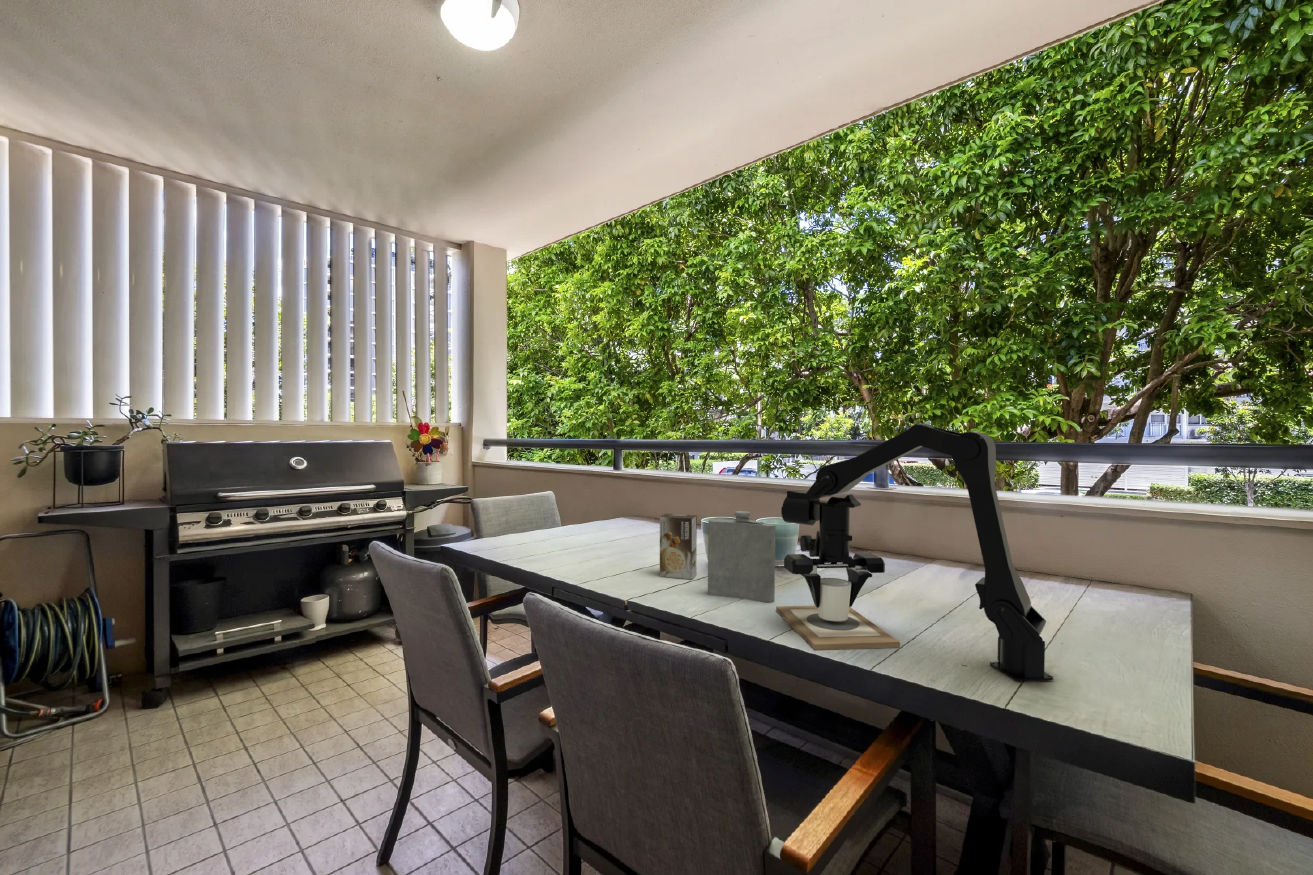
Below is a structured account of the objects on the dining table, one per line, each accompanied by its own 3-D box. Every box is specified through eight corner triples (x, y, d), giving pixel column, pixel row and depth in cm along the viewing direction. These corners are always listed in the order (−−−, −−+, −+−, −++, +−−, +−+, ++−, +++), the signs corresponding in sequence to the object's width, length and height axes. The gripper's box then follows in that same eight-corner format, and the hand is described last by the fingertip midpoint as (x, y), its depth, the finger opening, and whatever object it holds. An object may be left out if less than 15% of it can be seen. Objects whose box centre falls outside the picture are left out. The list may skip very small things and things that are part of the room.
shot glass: (853, 623, 109) (854, 587, 109) (816, 620, 111) (816, 585, 111) (848, 612, 116) (849, 578, 116) (813, 610, 118) (814, 576, 117)
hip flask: (705, 594, 135) (706, 510, 135) (711, 590, 139) (712, 508, 139) (772, 603, 129) (774, 515, 129) (776, 598, 133) (777, 512, 132)
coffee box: (697, 574, 154) (698, 514, 154) (692, 579, 148) (692, 518, 148) (665, 571, 157) (665, 513, 157) (658, 576, 151) (659, 516, 151)
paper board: (899, 647, 103) (900, 640, 103) (814, 649, 102) (814, 642, 102) (847, 609, 125) (847, 603, 125) (776, 610, 124) (776, 604, 124)
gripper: (860, 521, 122) (859, 594, 122) (775, 522, 120) (775, 595, 120) (886, 530, 111) (885, 610, 111) (794, 531, 109) (793, 612, 109)
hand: (833, 606), depth 113 cm, fingers open, 6 cm apart
